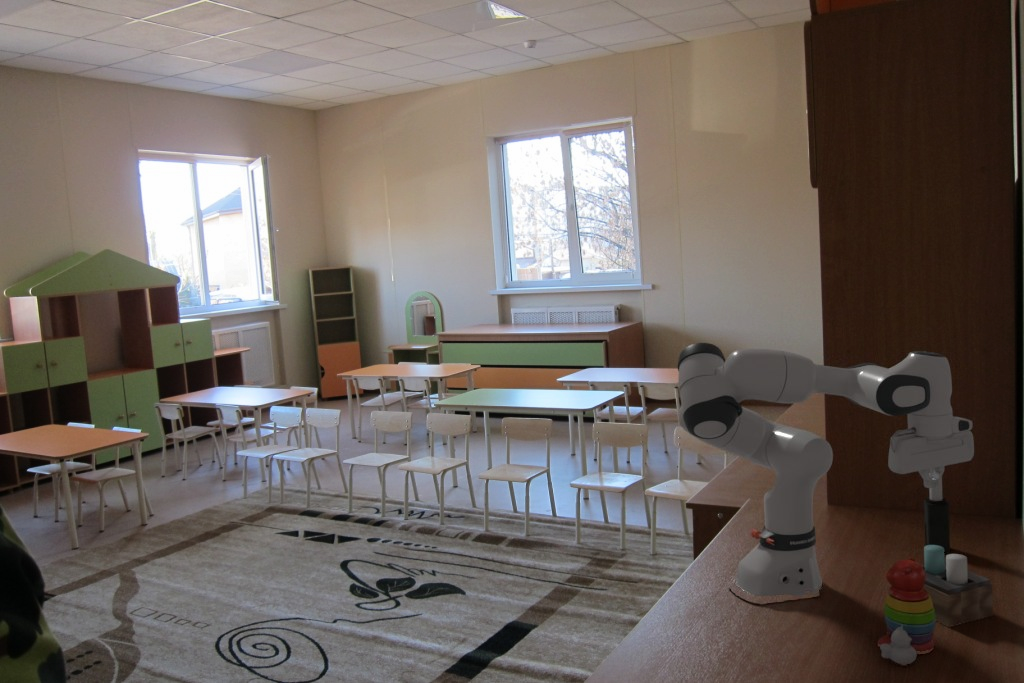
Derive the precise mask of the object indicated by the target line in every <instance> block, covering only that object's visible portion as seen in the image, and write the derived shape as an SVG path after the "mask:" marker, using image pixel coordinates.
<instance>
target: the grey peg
mask: <svg viewBox="0 0 1024 683" xmlns="http://www.w3.org/2000/svg"><path fill="white" fill-rule="evenodd" d="M945 561H946V575H947V582H949V583H952V584H954V585H956V586H959V585H963V584H967V583H968V576H967V570H968V557H967V556H966V555H963V554H960V553H959V554H958V553H949V554H946V555H945Z"/></svg>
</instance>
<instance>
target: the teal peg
mask: <svg viewBox="0 0 1024 683" xmlns="http://www.w3.org/2000/svg"><path fill="white" fill-rule="evenodd" d="M923 555H924V556H923V557H924V558H923V560H924V565H925V572H927V573H929V574H931V575H934V576H936V575H940V574H944V573H945V561H946V557H945V553H944V548H943V547H941V546H938V545H927V546H923Z"/></svg>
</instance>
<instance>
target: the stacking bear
mask: <svg viewBox="0 0 1024 683" xmlns="http://www.w3.org/2000/svg"><path fill="white" fill-rule="evenodd" d="M884 573H885V574H884V575H885V576H884V577H885V578H886V580H887V582H888V583H889V584H890V585H891V586H890V587H889V588H888V589H887V590H888V591H887V595H886V598H885V603H884V608H883V609H884V610H883V613H884V619H885V623H886V628H887V629H886V632H887V631H888V634H887V633H886V635H884V636H882V637H880V638H879V639H878V641H877V644H878V643H879V644H880V645H881V644H889V645H890V643H891V642H892V641H891V636H892V633H893V632H894V631H895V630H896V629H897V628H898V627H901V626H903V630H905V631H906V632H907V634H908V636H909V637H910V638H911V639H912V640H911V641H910V644H909V645H911V646H912V647H913V648H914V649H915V650H916V651H920V652H921V651H926V650H930V649H932V648H934V646H935V647H936V642H935V640H934V638H933V634H934V630H935V627H936V621H935V610H934V607H933V603H932V599H931V597H930V595H929V594H928V592H927V591H926V590H925V589H924V588H923V586H924V584H925V579H926V573H925V570H924V569H923V567H922V564H920V563H919V562H917V561H915V559H914V558H913V557H912V556H909V557H908V559H905V558H904V559H899V560H897V561H896V562H895V563H893V565H892V566H891V567H890V568H889V569H887V570H886V571H885V572H884Z"/></svg>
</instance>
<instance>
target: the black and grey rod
mask: <svg viewBox="0 0 1024 683" xmlns="http://www.w3.org/2000/svg"><path fill="white" fill-rule="evenodd" d="M933 471H934V469H932V468H931V473H929V475H930V477H932V474H933ZM928 489H929V490H928V491H929V496H927V497H926V498H924V499H923V512H924V544H925V546H927V545H938V546H941V547H943V548H944V552H949V551H950V552H951V538H950V536H951V535H950V534H951V533H950V530H951V529H950V503H949V502H948V501H947V499H946V498H945V497H943V476H942V477H941V478H940V486H937V487H932V488H928ZM925 546H924V547H925ZM950 552H949V553H950Z"/></svg>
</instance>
